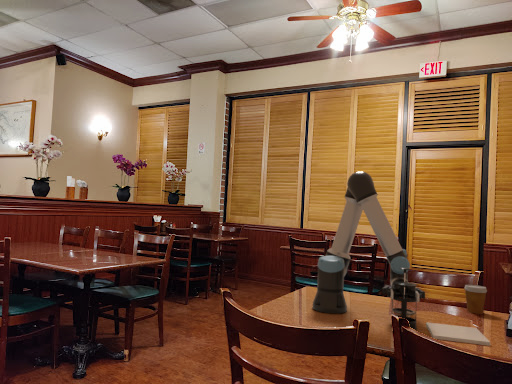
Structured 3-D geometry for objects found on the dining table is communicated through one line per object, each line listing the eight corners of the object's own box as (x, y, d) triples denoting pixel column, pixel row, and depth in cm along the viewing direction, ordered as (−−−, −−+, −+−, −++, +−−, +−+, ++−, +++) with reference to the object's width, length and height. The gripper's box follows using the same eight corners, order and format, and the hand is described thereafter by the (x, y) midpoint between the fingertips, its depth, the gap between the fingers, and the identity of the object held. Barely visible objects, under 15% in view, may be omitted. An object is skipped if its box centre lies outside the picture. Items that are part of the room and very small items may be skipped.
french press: (416, 333, 143) (418, 270, 144) (389, 328, 146) (391, 268, 148) (416, 325, 153) (418, 267, 155) (391, 321, 157) (393, 264, 158)
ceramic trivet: (433, 338, 137) (433, 335, 137) (426, 325, 154) (426, 322, 154) (490, 345, 132) (490, 342, 132) (476, 331, 149) (476, 328, 149)
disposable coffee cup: (491, 314, 178) (492, 288, 178) (475, 315, 175) (475, 288, 176) (474, 309, 187) (475, 284, 188) (458, 309, 184) (459, 284, 185)
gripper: (427, 298, 165) (435, 310, 143) (374, 293, 171) (375, 303, 149) (427, 280, 165) (436, 289, 143) (375, 276, 171) (376, 284, 149)
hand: (405, 296), depth 146 cm, fingers closed on french press, 8 cm apart
